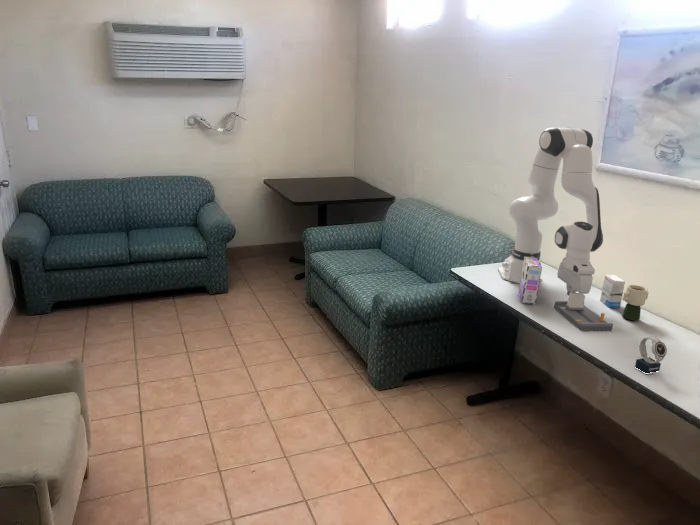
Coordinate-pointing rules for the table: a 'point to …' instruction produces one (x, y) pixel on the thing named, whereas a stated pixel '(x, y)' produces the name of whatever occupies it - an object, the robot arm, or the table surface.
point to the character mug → (634, 301)
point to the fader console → (583, 318)
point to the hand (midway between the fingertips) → (570, 296)
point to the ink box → (612, 291)
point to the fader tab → (575, 301)
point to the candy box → (530, 280)
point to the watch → (646, 362)
